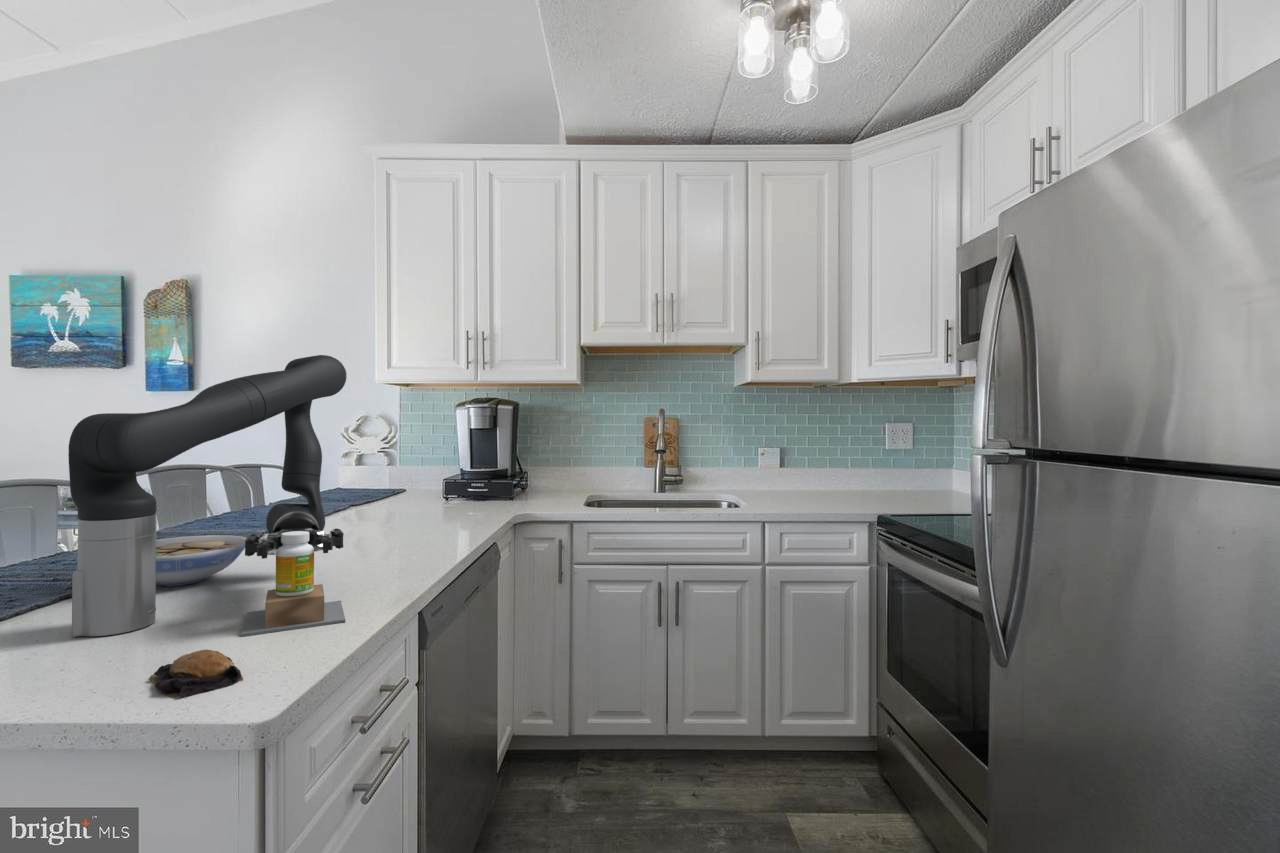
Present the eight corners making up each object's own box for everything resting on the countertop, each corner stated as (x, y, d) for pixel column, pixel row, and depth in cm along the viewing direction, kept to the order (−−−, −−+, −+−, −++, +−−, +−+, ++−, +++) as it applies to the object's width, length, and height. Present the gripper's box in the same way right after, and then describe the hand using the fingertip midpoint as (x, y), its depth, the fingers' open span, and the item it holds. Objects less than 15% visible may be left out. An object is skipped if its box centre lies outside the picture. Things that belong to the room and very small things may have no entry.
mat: (241, 636, 89) (241, 633, 89) (246, 614, 100) (247, 612, 100) (345, 622, 96) (345, 619, 96) (340, 602, 107) (340, 600, 107)
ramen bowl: (251, 587, 116) (251, 545, 116) (93, 606, 103) (93, 559, 103) (247, 562, 137) (247, 527, 137) (115, 576, 124) (115, 536, 124)
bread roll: (144, 683, 74) (144, 653, 74) (223, 662, 81) (223, 635, 81) (167, 708, 68) (167, 676, 68) (251, 684, 74) (251, 654, 74)
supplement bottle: (296, 598, 94) (297, 536, 94) (267, 596, 95) (267, 535, 95) (321, 589, 99) (321, 530, 99) (293, 587, 100) (293, 529, 100)
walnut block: (265, 628, 92) (265, 602, 92) (267, 614, 98) (267, 590, 98) (324, 620, 96) (324, 595, 96) (322, 607, 102) (322, 584, 102)
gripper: (250, 515, 106) (242, 529, 92) (339, 510, 113) (345, 522, 99) (249, 557, 106) (242, 578, 92) (339, 550, 113) (345, 568, 99)
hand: (295, 549), depth 95 cm, fingers open, 8 cm apart
